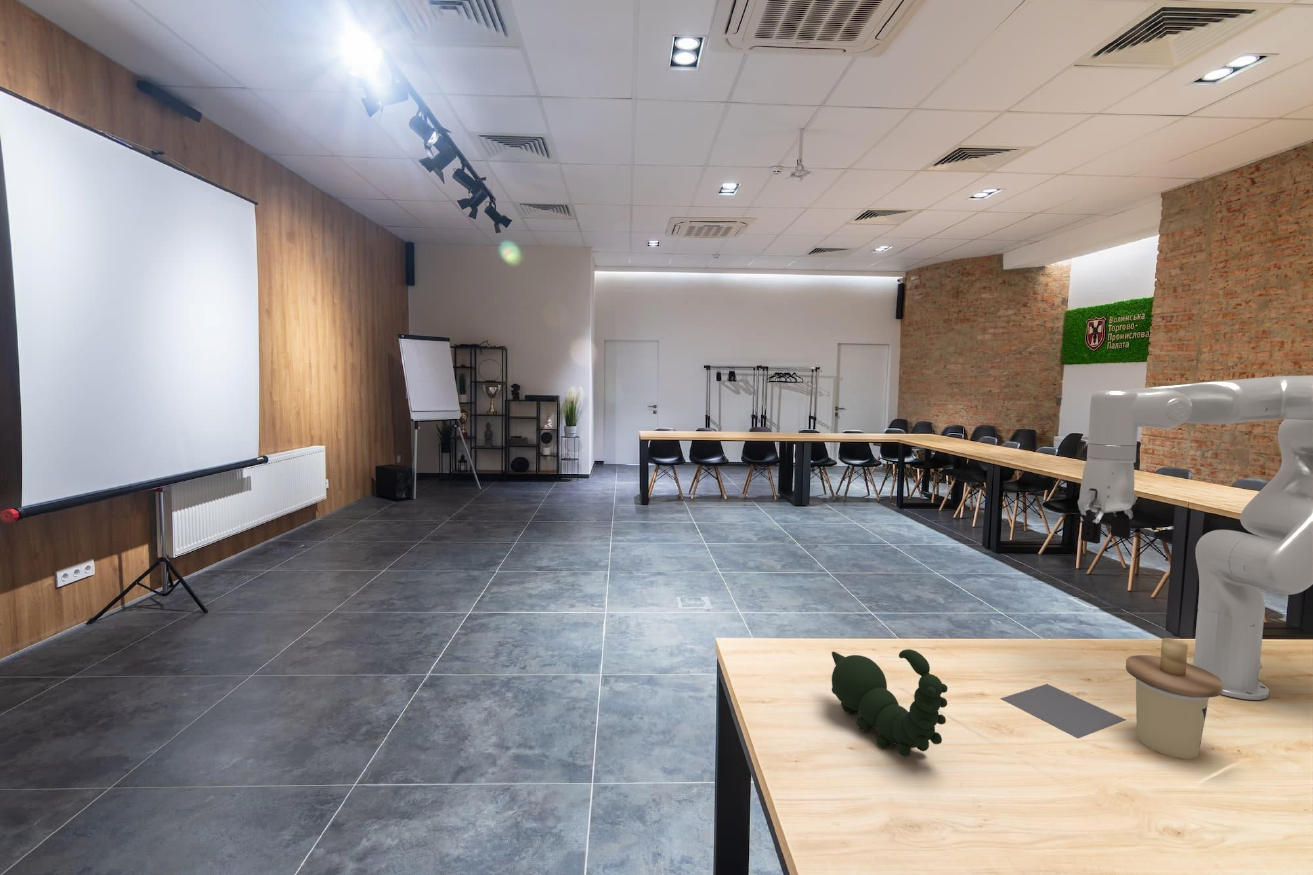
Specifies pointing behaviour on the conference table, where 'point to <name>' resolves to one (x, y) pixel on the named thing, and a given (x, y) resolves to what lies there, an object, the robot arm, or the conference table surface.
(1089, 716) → the mat
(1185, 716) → the coffee cup
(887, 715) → the toy figurine
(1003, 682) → the conference table surface
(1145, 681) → the lid
